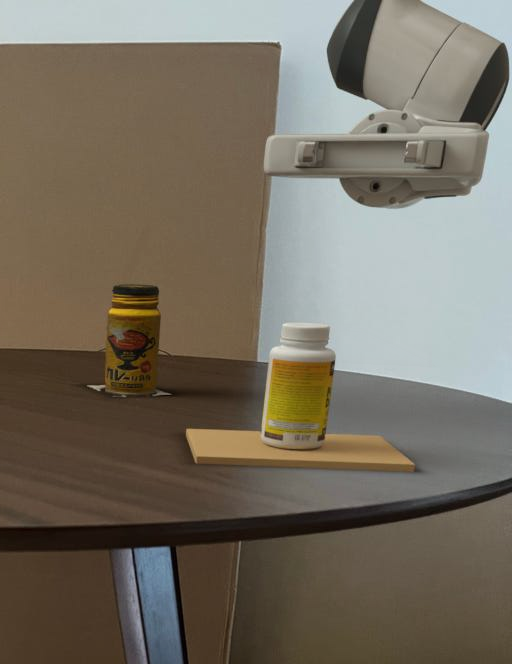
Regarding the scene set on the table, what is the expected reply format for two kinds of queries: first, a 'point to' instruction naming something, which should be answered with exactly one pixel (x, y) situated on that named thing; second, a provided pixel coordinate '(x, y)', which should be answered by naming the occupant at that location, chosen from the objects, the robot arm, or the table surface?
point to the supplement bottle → (298, 388)
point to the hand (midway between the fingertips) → (358, 151)
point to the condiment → (132, 342)
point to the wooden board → (296, 451)
